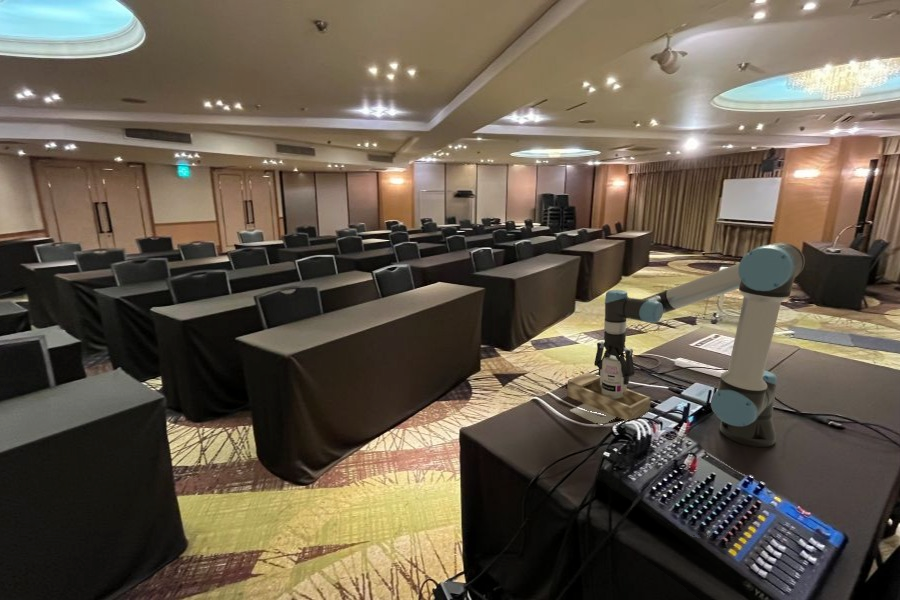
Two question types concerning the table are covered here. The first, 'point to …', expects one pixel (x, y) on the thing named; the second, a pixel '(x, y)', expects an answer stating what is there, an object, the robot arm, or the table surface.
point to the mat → (591, 416)
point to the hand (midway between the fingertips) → (613, 387)
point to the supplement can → (611, 377)
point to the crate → (580, 392)
